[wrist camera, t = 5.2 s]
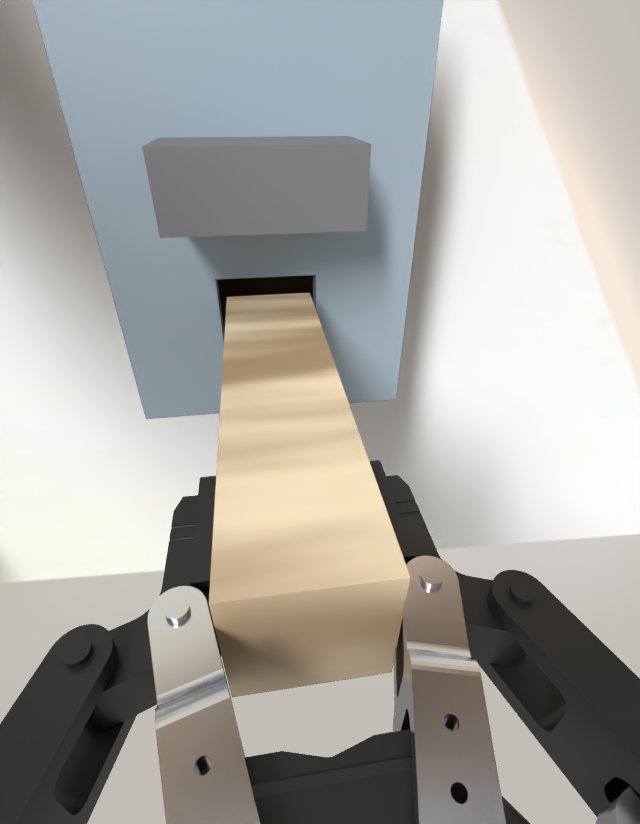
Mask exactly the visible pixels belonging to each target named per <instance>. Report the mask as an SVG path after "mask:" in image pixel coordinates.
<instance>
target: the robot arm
mask: <svg viewBox="0 0 640 824" xmlns="http://www.w3.org/2000/svg"><path fill="white" fill-rule="evenodd" d="M369 462H370V465H371V467H372V470H373V473H374V476H375V479H376V481H377V484H378V487H379V490H380V493H381V496H382V498H383V501H384V504H385V507H386V510H387V513H388V515H389V518H390V521H391V524H392V527H393V530H394V532H395V535H396V538H397V541H398V544H399V547H400V549H401V552H402V555H403V558H404V561H405V564H406V566H407V569H408V572H409V575H410V582H409V587H408V592H407V597H406V600H405V601H404V606H403V611H402V615H403V617H402V623H401V628H400V633H399V638H398V643H397V647H395V652H394V694H395V696H394V699H395V700H394V719H393V732H390V733H385V734H379V735H374V736H372V737H370V738H368V739H366V740H364V741H362V742H360V743H358V744H356V745H355V746H353V747H351V748H349V749H347V750H345V751H343V752H341V753H339V754H337V755H336V756H333V757H328V758H327V757H319V756H312V755H305V754H298V753H291V752H284V751H280V752H275V753H269V754H263V755H258V756H252V757H246V758H245V754H244V750H243V747H242V742H241V738H240V734H239V730H238V726H237V722H236V718H235V714H234V710H233V705H232V701H231V697H230V693H229V689H228V685H227V681H226V677H225V672H224V668H223V664H222V660H221V651H220V647H219V643H218V639H217V635H216V631H215V627H214V623H213V619H212V615H211V611H210V607H209V591H210V574H211V557H212V540H213V523H214V506H215V489H216V476H210V477H201V478H200V483H199V493H198V495H197V496H187V497H183V498H182V500H181V501H180V503H179V504H178V506H177V507H176V509H175V510H174V514H173V520H172V529H171V533H170V542H169V546H168V553H167V559H166V566H165V572H164V578H163V585H162V590H161V593H160V595H159V597H158V598H157V599H156V600H155V602H154V603H153V604H152V606H151V608H150V609H149V610H148V611H147V612H146V613H145V614H143V615H142V616H140V617H139V618H137V619H135V620H133V621H131V622H129V623H126V624H124V625H122V626H119V627H117V628H115V629H113V630H110V631H108V630H107V629H105V628H104V627H102V626H100V625H94V624H90V625H83V626H79V627H77V628H74V629H72V630H71V631H69V632H67V633H66V634H64V635H63V636H62V637H61V638H60V639H59V640H58V641H57V642H56V643H55V644H54V645H53V646H52V648H51V649H50V651H49V652H48V654H47V655H46V657H45V658H44V660H43V661H42V663H41V664H40V666H39V667H38V669H37V670H36V672H35V673H34V675H33V676H32V678H31V679H30V680H29V682H28V683H27V685H26V686H25V688H24V690H23V691H22V693H21V694H20V695H19V697H18V698H17V700H16V702H15V703H14V705H13V706H12V707H11V709H10V711H9V712H8V713H7V715H6V717H5V718H4V719H3V721H2V722H1V724H0V824H87V822H88V820H89V818H90V816H91V813H92V811H93V809H94V807H95V805H96V802H97V800H98V798H99V796H100V794H101V791H102V789H103V787H104V785H105V783H106V781H107V779H108V776H109V774H110V772H111V770H112V768H113V766H114V763H115V761H116V759H117V757H118V755H119V753H120V750H121V748H122V746H123V744H124V742H125V739H126V737H127V735H128V733H129V731H130V728H131V726H132V724H133V722H134V720H135V718H136V716H137V714H139V713H141V712H143V711H145V710H147V709H149V708H151V707H152V706H155V705H157V708H156V709H155V727H156V737H157V746H158V754H159V763H160V772H161V782H162V790H163V799H164V808H165V817H166V824H530V823H529V822H528V821H527V820H526V819H525V818H524V817H523V816H522V815H521V814H520V813H519V812H518V811H517V810H516V809H515V808H514V807H513V806H512V805H511V804H510V803H509V802H508V801H507V800H505V798H504V797H503V796H502V795H501V790H500V784H499V779H498V773H497V767H496V761H495V756H494V749H493V743H492V737H491V731H490V725H489V720H488V714H487V708H486V702H485V696H484V690H483V684H482V678H481V673H480V668H479V665H480V666H481V668H482V669H483V670H484V672H485V673H486V674H487V675H488V677H489V678H490V679H491V681H492V682H493V683H494V685H495V686H496V687H497V688H498V690H499V691H500V692H501V694H502V695H503V696H504V698H505V699H506V700H507V701H508V703H509V704H510V705H511V707H512V708H513V709H514V711H515V712H516V713H517V714H518V716H519V717H520V718H521V720H522V721H523V722H524V723H525V725H526V726H527V727H528V728H529V730H530V731H531V732H532V734H533V735H534V736H535V738H536V739H537V740H538V741H539V743H540V744H541V745H542V747H543V748H544V749H545V750H546V752H547V753H548V754H549V756H550V757H551V758H552V760H553V761H554V762H555V763H556V765H557V766H558V767H559V768H560V770H561V771H562V772H563V774H564V775H565V776H566V778H567V779H568V780H569V781H570V783H571V784H572V785H573V787H574V788H575V789H576V791H577V792H578V793H579V794H580V796H581V797H582V798H583V800H584V801H585V802H586V803H587V805H588V806H589V807H590V809H591V810H592V811H593V812H594V814H595V815H596V816H597V821H596V824H640V679H639V678H638V677H637V676H636V675H635V674H634V673H633V672H632V671H631V670H630V669H629V668H628V667H627V666H626V665H625V664H624V663H623V662H622V661H621V660H620V659H619V658H617V656H616V655H615V654H614V653H613V652H612V651H611V650H610V649H608V647H606V646H605V645H604V644H603V643H602V642H601V641H600V640H599V639H598V638H597V637H596V636H595V635H594V634H593V633H592V632H591V631H590V630H589V629H588V628H587V627H586V626H585V625H584V624H583V623H582V622H581V621H580V620H579V619H578V618H577V617H576V616H575V615H573V613H571V612H570V611H569V610H568V609H567V608H566V607H565V606H564V605H563V604H562V603H561V602H560V601H559V600H558V599H557V598H556V597H555V596H554V595H553V594H552V593H551V592H550V591H549V590H548V589H547V588H546V587H545V586H544V585H543V584H542V583H541V582H539V581H538V580H537V579H536V578H534V577H533V576H531V575H529V574H527V573H524V572H521V571H516V570H507V571H503V572H501V573H499V574H498V575H497V576H496V577H495V578H494V580H488V579H482V578H476V577H470V576H466V575H463V574H460V573H458V572H456V571H454V570H453V568H452V567H451V566H450V565H448V564H447V563H446V562H445V561H443V560H442V559H441V558H440V556H439V554H438V552H437V550H436V548H435V545H434V543H433V541H432V539H431V536H430V534H429V532H428V529H427V527H426V525H425V522H424V520H423V518H422V515H421V514H420V511H419V508H418V506H417V504H416V503H415V499H414V497H413V494H412V492H411V490H410V487H409V486H408V485H407V484H406V483H405V482H404V481H403V480H402V479H401V478H400V477H399V476H398V475H396V476H386V475H385V473H384V470H383V468H382V465H381V463H380V461H379V460H377V461H369ZM478 664H479V665H478Z"/></svg>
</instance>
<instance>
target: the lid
mask: <svg viewBox="0 0 640 824" xmlns="http://www.w3.org/2000/svg"><path fill="white" fill-rule="evenodd" d="M32 2H33V5H34V9H35V13H36V16H37V20H38V24H39V27H40V31H41V35H42V38H43V42H44V46H45V49H46V53H47V57H48V60H49V64H50V68H51V71H52V75H53V79H54V82H55V86H56V90H57V93H58V97H59V101H60V104H61V108H62V112H63V116H64V119H65V123H66V127H67V130H68V134H69V138H70V141H71V145H72V149H73V152H74V156H75V160H76V163H77V167H78V171H79V174H80V178H81V182H82V185H83V189H84V193H85V196H86V200H87V204H88V207H89V211H90V215H91V218H92V222H93V226H94V229H95V233H96V237H97V240H98V244H99V248H100V251H101V255H102V259H103V262H104V266H105V270H106V273H107V277H108V281H109V284H110V288H111V292H112V295H113V299H114V303H115V306H116V310H117V314H118V318H119V321H120V325H121V329H122V332H123V336H124V340H125V343H126V347H127V351H128V354H129V358H130V362H131V365H132V369H133V373H134V376H135V380H136V384H137V387H138V391H139V395H140V398H141V402H142V406H143V409H144V413H145V417H146V419H153V418H165V417H178V416H190V415H203V414H216V413H220V404H221V387H222V370H223V353H224V336H225V334H224V326H223V318H222V311H221V303H220V295H219V288H218V280H217V279H237V278H260V277H282V276H304V275H313V303H314V306H315V309H316V312H317V315H318V317H319V320H320V323H321V326H322V329H323V332H324V334H325V337H326V340H327V343H328V346H329V349H330V351H331V354H332V357H333V360H334V363H335V365H336V368H337V371H338V374H339V377H340V380H341V382H342V385H343V388H344V391H345V394H346V397H347V399H348V402H349V403H354V402H367V401H380V400H392V399H396V394H397V386H398V377H399V369H400V360H401V352H402V344H403V335H404V327H405V318H406V310H407V302H408V293H409V285H410V276H411V268H412V260H413V251H414V243H415V234H416V226H417V217H418V209H419V201H420V192H421V184H422V175H423V167H424V159H425V150H426V142H427V133H428V125H429V117H430V108H431V100H432V91H433V83H434V74H435V66H436V58H437V49H438V41H439V32H440V24H441V16H442V7H443V0H32Z"/></svg>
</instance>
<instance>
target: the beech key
mask: <svg viewBox="0 0 640 824" xmlns="http://www.w3.org/2000/svg"><path fill="white" fill-rule="evenodd" d="M409 582H410V575H409V572H408V569H407V566H406V564H405V561H404V558H403V555H402V552H401V549H400V547H399V544H398V541H397V538H396V535H395V532H394V530H393V527H392V524H391V521H390V518H389V515H388V513H387V510H386V507H385V504H384V501H383V498H382V496H381V493H380V490H379V487H378V484H377V481H376V479H375V476H374V473H373V470H372V467H371V465H370V462H369V459H368V456H367V453H366V450H365V448H364V445H363V442H362V439H361V436H360V433H359V431H358V428H357V425H356V422H355V419H354V416H353V414H352V411H351V408H350V405H349V402H348V399H347V397H346V394H345V391H344V388H343V385H342V382H341V380H340V377H339V374H338V371H337V368H336V365H335V363H334V360H333V357H332V354H331V351H330V349H329V346H328V343H327V340H326V337H325V334H324V332H323V329H322V326H321V323H320V320H319V317H318V315H317V312H316V309H315V306H314V303H313V300H312V298H311V295H310V293H294V294H274V295H255V296H235V297H227V302H226V319H225V336H224V353H223V370H222V387H221V404H220V421H219V438H218V455H217V472H216V489H215V506H214V523H213V540H212V557H211V574H210V591H209V607H210V611H211V615H212V619H213V623H214V627H215V631H216V635H217V639H218V643H219V647H220V651H221V655H222V659H223V663H224V667H225V671H226V675H227V679H228V683H229V687H230V691H231V695H232V697H237V696H243V695H250V694H256V693H262V692H269V691H275V690H282V689H288V688H294V687H301V686H307V685H314V684H320V683H326V682H332V681H339V680H346V679H352V678H358V677H365V676H370V675H378V674H384V673H390V672H392V668H393V663H394V652H395V647H397V643H398V638H399V633H400V628H401V623H402V617H403V615H402V611H403V606H404V601H405V600H406V597H407V592H408V587H409Z"/></svg>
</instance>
